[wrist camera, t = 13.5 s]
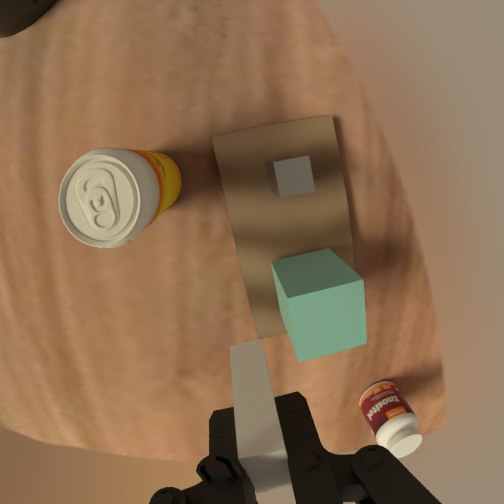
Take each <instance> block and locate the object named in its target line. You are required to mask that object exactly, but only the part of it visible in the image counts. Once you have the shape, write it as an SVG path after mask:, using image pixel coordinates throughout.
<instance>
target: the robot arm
mask: <svg viewBox="0 0 504 504" xmlns="http://www.w3.org/2000/svg"><path fill="white" fill-rule="evenodd" d="M54 1H55V0H0V38H4V37H8V36H11V35H13V34H15V33H17V32H19V31H21V30H23V29H24V28H26V27H27V26H29V25H30V24H31V23H33V22H34V21H35V20H36V19H38V18H39V17H40V16H41V15H42V14H43V13H44V12H45V11H46V10H47V9H48V8H49V7H50V6H51V5H52V4H53V2H54ZM229 347H230V362H231V376H232V390H233V403H234V407H231V408H226V409H221V410H216V411H214V412H213V414H212V416H211V418H210V420H209V456H207V457H205V458H204V459H202V460H201V461H200V463H199V464H198V465H197V469H196V472H197V473H198V475H199V476H200V477H201V479H202V480H203V481H201V482H200V483H199V484H197V485H195V486H192V487H190V488H187V489H184V490H180V489H177V488H174V487H165V488H163V489H160V490H158V491H157V492H156V493H155V494H154V495H153V497H152V498H151V500H150V503H149V504H258V502H257V500H256V496H255V491H256V493H262V492H268V491H273V490H277V489H282V488H286V487H291V486H292V487H293V491H294V495H295V500H296V504H343V502H355V503H356V504H441V503H440V502H439V501H438V500H437V499H436V498H435V497H434V496H433V495H432V494H431V493H430V492H429V491H428V490H427V489H426V488H425V487H424V486H423V485H422V484H421V483H420V482H419V481H418V480H417V479H416V478H415V477H414V476H413V475H412V474H411V473H410V472H409V471H408V469H407V468H406V467H405V466H404V465H403V464H402V463H401V462H400V461H399V460H397V458H396V457H395V456H394V455H393V454H392V453H391V452H390V451H389V450H388V449H386V448H385V447H383V446H380V445H368V446H366V447H363V448H361V449H360V450H359V451H357V452H356V453H355V454H349V455H337V454H333V453H330V452H328V451H327V450H326V449H325V448H324V447H323V446H322V444H321V442H320V439H319V436H318V433H317V430H316V427H315V424H314V421H313V418H312V416H311V412H310V410H309V407H308V404H307V401H306V398H305V397H304V396H303V395H301V394H300V393H299V392H298V391H297V392H293V393H290V394H286V395H282V396H278V397H275V393H274V389H273V384H272V380H271V376H270V373H269V369H268V365H267V362H266V358H265V354H264V351H263V347H262V343H261V339H259V340H255V341H251V342H247V343H242V344H238V345H234V346H229Z"/></svg>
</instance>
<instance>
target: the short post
mask: <svg viewBox="0 0 504 504" xmlns="http://www.w3.org/2000/svg"><path fill="white" fill-rule="evenodd" d="M266 167H267V172H268V177H269V182H270V187H271V192H272V193H273V194H275V195H276V196H278V197H279V198H285V197H289V196H294V195H299V194H304V193H309V192H314V191H315V186H314V180H313V175H312V170H311V164H310V159H309V156H295V157H289V158H284V159H279V160H273V161H268V162H266Z"/></svg>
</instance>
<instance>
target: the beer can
mask: <svg viewBox="0 0 504 504" xmlns="http://www.w3.org/2000/svg"><path fill="white" fill-rule="evenodd" d="M180 190H181V174H180V171H179V169H178V167H177V165H176V164H175V162H174V161H173V160H172V159H171V158H169V157H168V156H166V155H164V154H162V153H158V152H151V151H141V150H131V149H120V148H98V149H94V150H92V151H89V152H87V153H85V154H84V155H82V156H81V157H80V158H79V159H78V160H76V162H75V163H74V164H73V165H72V166H71V168H70V169H69V170H68V172H67V173H66V175H65V176H64V178H63V181H62V183H61V186H60V190H59V210H60V214H61V217H62V220H63V222H64V224H65V226H66V227H67V229H68V230H69V232H70V233H71V234H72V235H73V236H74V237H75V238H77V239H78V240H79V241H81V242H83V243H85V244H87V245H91V246H95V247H99V248H116V247H120V246H122V245H125V244H127V243H129V242H130V241H132V240H133V239H134V238H135V237H137V236H138V235H139V234H140V233H141V232H142V231H143V230H144V229H145V228H146V227H147V226H149V225H150V224H151V223H152V222H153V221H154V220H155V219H156V218H157V217H159V216H160V215H161V214H162V213H163V212H164V211H165V210H167V209H168V208H169V207H170V206H171V205H172V204H173V203H174V202H175V201H176V199H177V197H178V196H179V193H180Z"/></svg>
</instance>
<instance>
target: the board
mask: <svg viewBox="0 0 504 504" xmlns="http://www.w3.org/2000/svg"><path fill="white" fill-rule="evenodd" d="M211 138H212V142H213V147H214V151H215V156H216V160H217V165H218V169H219V174H220V178H221V183H222V187H223V192H224V196H225V201H226V205H227V209H228V214H229V218H230V223H231V227H232V231H233V236H234V240H235V244H236V249H237V253H238V257H239V262H240V266H241V270H242V274H243V279H244V283H245V287H246V292H247V296H248V300H249V304H250V308H251V313H252V317H253V321H254V325H255V329H256V333H257V338H258V339H262V338H266V337H271V336H275V335H279V334H284V333H288V332H287V330H286V327H285V324H284V321H283V319H282V316H281V312H280V307H279V302H278V296H277V291H276V286H275V281H274V276H273V271H272V266H271V261H275V260H279V259H284V258H288V257H293V256H297V255H301V254H306V253H310V252H315V251H319V250H323V249H328V248H329V249H330V250H331V251H332V252H334V253H335V254H336V255H337V256H338V257H339V258H340V259H341V260H343V261H344V262H345V263H346V264H347V265H348V266H349V267H350V268H352V269H353V270H354V271H355V272H356V270H355V260H354V251H353V242H352V233H351V225H350V218H349V210H348V203H347V197H346V190H345V184H344V177H343V171H342V165H341V160H340V154H339V149H338V143H337V138H336V133H335V128H334V123H333V118H332V115H331V116H323V117H316V118H309V119H302V120H295V121H289V122H283V123H277V124H271V125H265V126H260V127H255V128H249V129H244V130H239V131H234V132H230V133H225V134H220V135H216V136H212V137H211ZM295 156H309V159H310V164H311V170H312V175H313V180H314V186H315V191H314V192H309V193H304V194H299V195H294V196H289V197H285V198H279V197H278V196H276V195H275V194H273V193H272V192H271V187H270V182H269V177H268V172H267V167H266V162H268V161H273V160H279V159H284V158H289V157H295Z"/></svg>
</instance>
